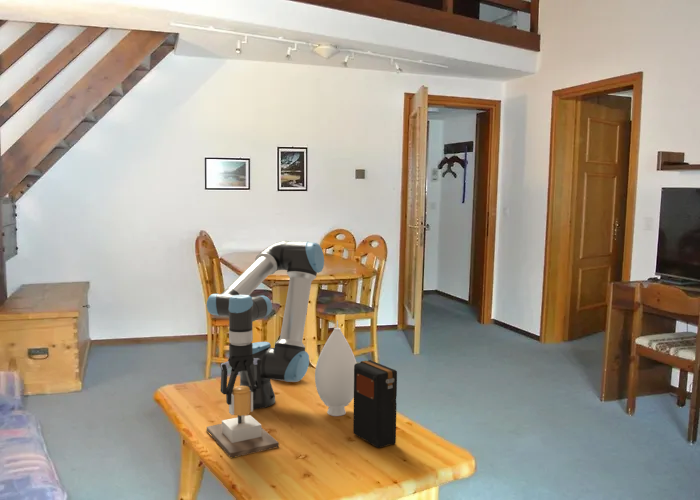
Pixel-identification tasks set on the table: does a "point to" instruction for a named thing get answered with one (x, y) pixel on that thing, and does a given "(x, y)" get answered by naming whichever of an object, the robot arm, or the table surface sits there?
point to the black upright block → (375, 403)
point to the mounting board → (242, 442)
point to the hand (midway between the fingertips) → (241, 411)
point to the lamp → (335, 373)
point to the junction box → (241, 428)
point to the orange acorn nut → (242, 400)
